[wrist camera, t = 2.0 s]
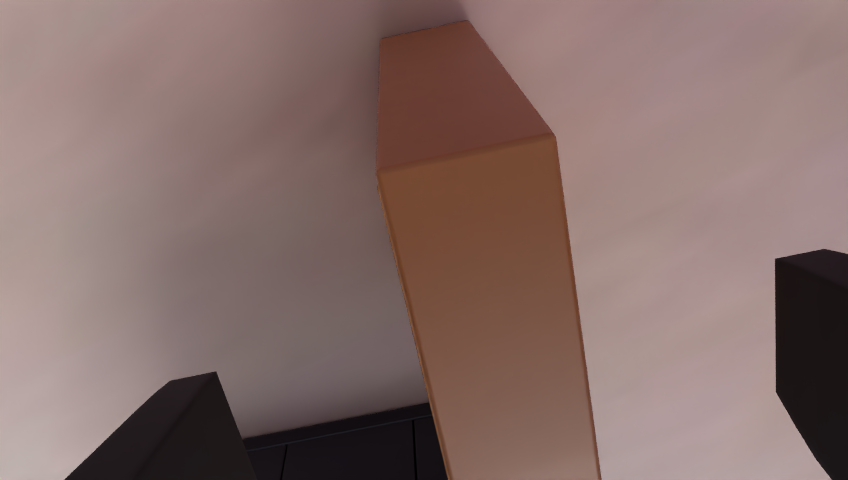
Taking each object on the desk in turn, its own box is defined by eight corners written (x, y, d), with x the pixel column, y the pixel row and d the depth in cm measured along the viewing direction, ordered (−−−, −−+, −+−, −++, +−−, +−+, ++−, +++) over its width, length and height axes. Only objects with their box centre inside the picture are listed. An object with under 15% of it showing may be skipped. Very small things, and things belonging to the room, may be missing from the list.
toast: (471, 18, 16) (561, 131, 8) (515, 279, 19) (617, 565, 11) (377, 39, 16) (369, 171, 8) (434, 295, 19) (472, 592, 11)
